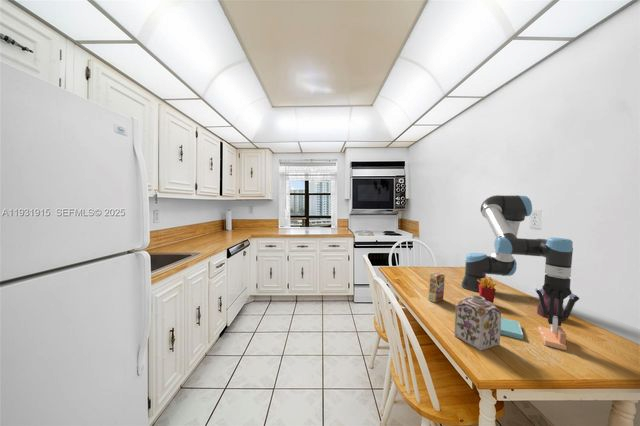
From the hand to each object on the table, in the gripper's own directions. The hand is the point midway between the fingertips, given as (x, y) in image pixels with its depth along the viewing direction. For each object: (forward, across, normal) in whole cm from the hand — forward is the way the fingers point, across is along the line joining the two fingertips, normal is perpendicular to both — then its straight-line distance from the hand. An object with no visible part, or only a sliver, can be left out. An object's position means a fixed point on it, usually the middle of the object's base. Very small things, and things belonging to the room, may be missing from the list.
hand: (553, 332), depth 99 cm
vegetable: (+4, +4, +30) cm, 31 cm away
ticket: (+4, -16, 0) cm, 17 cm away
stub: (+4, -1, 0) cm, 4 cm away
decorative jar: (+4, -26, -19) cm, 33 cm away
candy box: (+4, -46, +17) cm, 50 cm away
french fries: (+4, -24, +29) cm, 38 cm away
